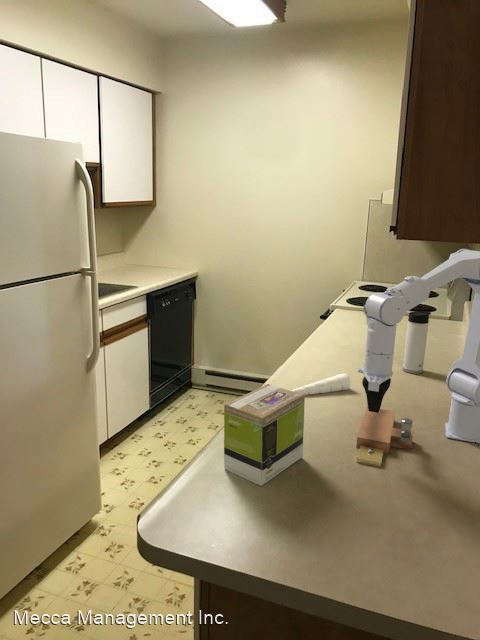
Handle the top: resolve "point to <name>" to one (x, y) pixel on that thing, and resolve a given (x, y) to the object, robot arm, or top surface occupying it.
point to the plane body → (381, 431)
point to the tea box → (263, 433)
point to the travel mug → (416, 342)
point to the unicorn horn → (326, 385)
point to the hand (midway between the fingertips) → (373, 410)
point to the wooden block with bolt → (370, 456)
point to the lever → (406, 429)
